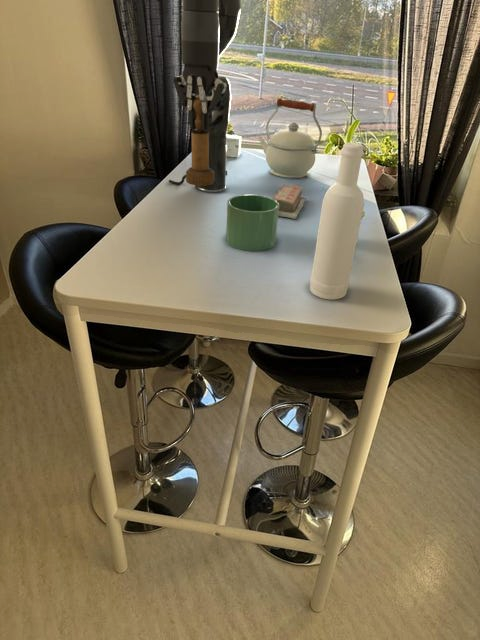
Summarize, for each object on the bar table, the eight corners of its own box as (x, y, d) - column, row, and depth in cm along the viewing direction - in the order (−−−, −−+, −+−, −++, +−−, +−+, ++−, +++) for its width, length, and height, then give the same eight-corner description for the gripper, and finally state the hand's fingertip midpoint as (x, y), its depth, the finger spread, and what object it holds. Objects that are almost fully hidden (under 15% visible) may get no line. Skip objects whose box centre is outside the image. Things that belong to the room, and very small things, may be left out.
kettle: (325, 173, 175) (335, 102, 161) (304, 184, 162) (313, 107, 148) (268, 161, 186) (273, 93, 172) (244, 171, 172) (248, 98, 159)
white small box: (223, 156, 188) (224, 137, 184) (226, 152, 193) (227, 134, 189) (238, 157, 188) (239, 138, 184) (240, 154, 193) (241, 135, 189)
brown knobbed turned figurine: (192, 187, 104) (191, 100, 94) (181, 178, 109) (180, 95, 99) (218, 184, 107) (220, 99, 97) (207, 176, 112) (208, 95, 102)
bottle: (353, 298, 96) (385, 149, 79) (318, 302, 94) (344, 150, 77) (336, 280, 102) (362, 139, 86) (303, 283, 100) (323, 139, 84)
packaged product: (277, 181, 146) (308, 186, 144) (276, 196, 149) (306, 201, 147) (263, 198, 132) (297, 203, 129) (262, 214, 134) (295, 220, 132)
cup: (216, 242, 116) (217, 203, 111) (243, 227, 126) (245, 191, 120) (259, 255, 111) (262, 216, 105) (284, 239, 120) (288, 202, 115)
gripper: (239, 41, 92) (235, 132, 101) (185, 36, 98) (186, 122, 107) (217, 41, 86) (215, 137, 96) (161, 36, 92) (165, 127, 102)
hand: (200, 129), depth 101 cm, fingers closed on brown knobbed turned figurine, 2 cm apart
